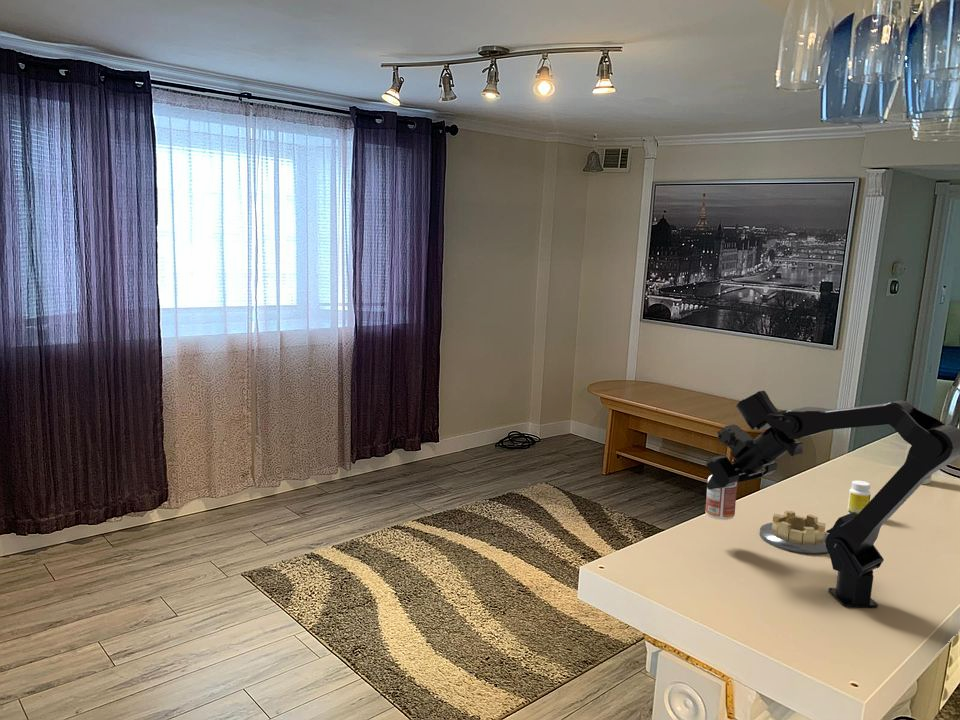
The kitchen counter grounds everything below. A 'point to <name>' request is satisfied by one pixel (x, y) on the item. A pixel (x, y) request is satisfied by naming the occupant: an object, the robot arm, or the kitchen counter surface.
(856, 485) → the supplement bottle
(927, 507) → the kitchen counter surface
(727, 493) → the pill bottle
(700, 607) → the kitchen counter surface
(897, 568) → the kitchen counter surface
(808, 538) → the crown on disc
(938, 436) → the robot arm
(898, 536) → the kitchen counter surface
